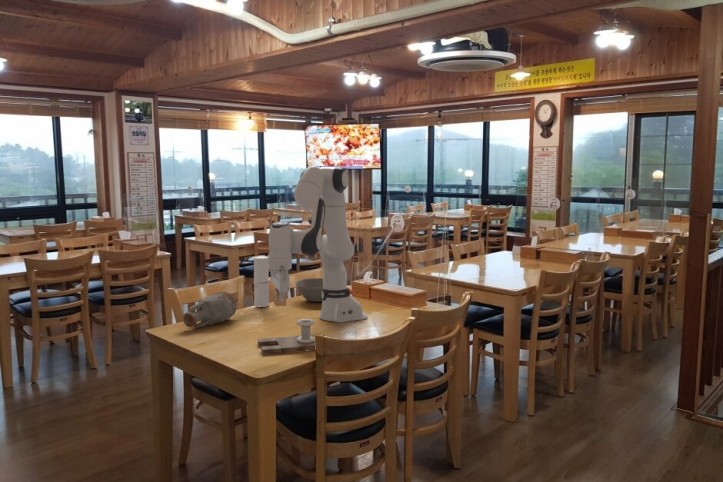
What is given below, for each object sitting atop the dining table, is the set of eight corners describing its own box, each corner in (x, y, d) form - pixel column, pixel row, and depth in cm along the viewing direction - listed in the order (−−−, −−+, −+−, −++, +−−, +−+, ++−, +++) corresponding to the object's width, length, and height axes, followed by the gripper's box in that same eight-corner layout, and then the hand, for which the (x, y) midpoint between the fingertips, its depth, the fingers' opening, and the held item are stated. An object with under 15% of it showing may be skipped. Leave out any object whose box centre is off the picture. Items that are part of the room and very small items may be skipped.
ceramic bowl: (343, 297, 314) (343, 279, 312) (331, 307, 292) (331, 287, 290) (304, 294, 319) (304, 276, 317) (289, 304, 296) (289, 285, 295)
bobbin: (312, 337, 234) (312, 318, 233) (316, 342, 227) (316, 322, 226) (295, 338, 231) (295, 319, 230) (298, 344, 225) (298, 324, 224)
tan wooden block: (284, 303, 226) (284, 288, 226) (286, 305, 223) (286, 290, 222) (274, 303, 225) (274, 288, 224) (275, 306, 221) (275, 290, 221)
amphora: (248, 290, 269) (197, 289, 244) (248, 325, 267) (197, 328, 242) (227, 292, 276) (175, 291, 251) (227, 326, 274) (175, 328, 249)
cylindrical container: (265, 308, 287) (265, 258, 284) (252, 307, 289) (251, 258, 285) (270, 305, 294) (270, 256, 291) (257, 304, 295) (257, 255, 292)
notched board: (316, 339, 238) (316, 334, 238) (324, 349, 225) (324, 344, 224) (257, 343, 231) (257, 339, 230) (262, 354, 217) (262, 349, 217)
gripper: (293, 268, 213) (293, 305, 215) (283, 259, 232) (283, 293, 234) (276, 269, 211) (276, 306, 213) (267, 260, 230) (267, 294, 232)
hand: (280, 299), depth 224 cm, fingers closed on tan wooden block, 4 cm apart
